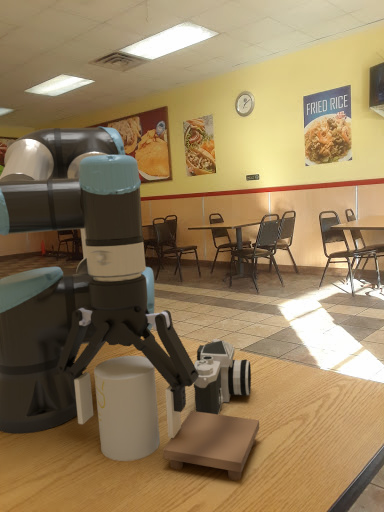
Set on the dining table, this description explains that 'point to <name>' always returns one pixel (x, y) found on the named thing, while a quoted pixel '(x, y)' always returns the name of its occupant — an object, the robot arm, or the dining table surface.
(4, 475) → the dining table surface
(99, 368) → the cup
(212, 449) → the wooden stand
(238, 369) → the camera
